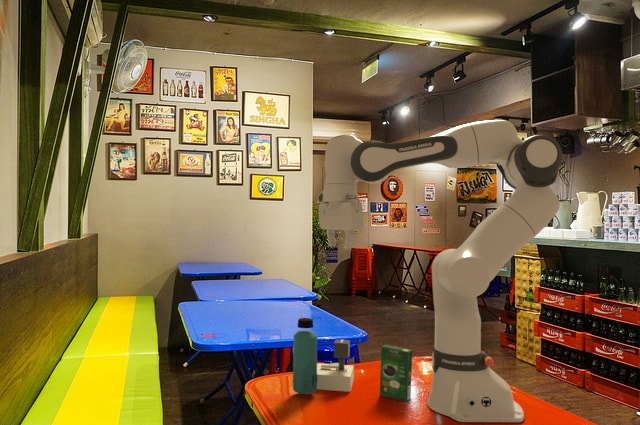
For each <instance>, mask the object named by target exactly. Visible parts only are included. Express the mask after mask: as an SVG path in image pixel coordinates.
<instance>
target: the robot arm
mask: <svg viewBox="0 0 640 425" xmlns="http://www.w3.org/2000/svg"><path fill="white" fill-rule="evenodd" d="M562 162H563V150H562V147H561V145H560V144H559V142H558V141H557V140H555V139H554V138H552V137H551V136H548V135H543V134H537V135H531V136H529V137H527V138H525V139H523V140H522V139H521V138H520V136H519V134H518V131H517V129H516V127H515V125H514V124H513V123H512V122H510V121H509V120H506V119H493V120H489V119H488V120H482V121H475V122H471V123H470V122H469V123H466V124H462V125H458V126H455V127H451V128H449V129H447V130H443V131H440V132H438V133H435V134H433V135H430V136H427V137H422V138H417V139H411V140H406V141H401V142H393V143H390V142H389V143H388V142H383V141H377V140H367V141H361V140H360V139H358V137H356V136H355V135H353V134H342V135H337V136H334V137H331V138H330V139H329V140H328V142H327V144H326V147H325V154H324V171H325V180H324V186H323V187H324V188H323V189H322V192H320V193H319V194H318V195H317V203H319V206H318V224H319V227H320V229H322V230H326V237H327V240H328V246H329V247H336V246H337V239H336V236H335V234H336V231H344V234H345V240H344V241H343V248H344V249H352V248H353V240H354V239H355V236H356V234H355V232H361V231H362V230H363V228H364V213H363V212H364V210H363V205H362V203H361V200H360V198H359V196H358V182H364V183H367V184H370V185H371V184H372V185H378V184H380V183H383V182H384V181H386V180H388V178H389V177H390V175H391V173H393V172H394V171H396V170H400V169H404V168H409V167H415V166H419V165H425V164H426V165H427V164H437V165H441V166H444V167H447V168H449V169H459V168H462V169H463V168H471V167H476V166H480V165H484V164H490V163H491V164H493V163H494V164H495V163H496V169H498V170H499V173H500V174H501V175H502V178H503V180H504V182H505V183H506V184H507V185H508V186H509V188H510V187H511V188H512V189H514V192H513V194H511V196H510V197H509V198H508V199H506V200H505V201H503V203H501V204H500V206H498V207H497V208H496V209H495V210H493V212H492V213H490V214H489V215H488V216H486V217H485V218H484V219H483V220H482V221H481V222H480V223H479V224H478V225H476V227H475V229H474V230H473V232H471V233H470V235H469V236H468V237H467V238H466V239H465V241H464V242H463V243H462V244H461V245H460V246H459V247H457V248H449V249H445V250H442V251H440V253H438V254H437V255H436V256H435V258H434V259H433V261H432V264H431V280H432V281H431V282H432V297H433V307H434V308H433V310H434V346H433V348H432V353H431V354H432V355H431V367H432V370H433V373H432V381H431V385H430V386H431V387H430V392H429V395H428V398H427V402H426V405H427V406H428V407H429V409H431V410H432V411H434V412H436V413H438V414H441V415H444V416H447V417H449V418H451V419H452V420H455V421H457V422H460V423H522V422H523V421H524V420H525V415H524V410H523V408H522V407H521V406H520V404H519V403H518V402H517V401H515V400H514V396H513V392H512V389H511V387H510V385H509V383H507V381H506V380H504V379H503V378H502V377H501V376H499V374H497V372H495V371H494V370H493V369H491V367H493V366H494V364H495V361H494V360H493V358H492V357H491V356H490V355H488V354H487V353H485V351H482V350H481V348H482V347H481V346H482V343H481V340H482V333H481V331H482V330H481V329H482V318H481V315H480V311H479V307H478V306H479V305H478V298H477V297H478V296H480V295H482V294H483V293H485V292H486V291H487V289H488V288H489V286H490V282H492V281H493V280H494V279H495V277H496V276H497V275H498V273H499V272H500V271H501V270H502V268H504V266H505V265H506V264H507V262H509V260H511V258H513V256H514V255H516V254H517V253H518V252H519V251H520V250H521V249H523V248H524V246H526V245H527V244H528V243H529V242H530V241H531V240H533V239H534V238H536V237H537V235H538V234H539V233H541V232H542V230H543V229H544V228H546V227H547V226H548V225H549V223H550V222H551V221H552V219H553V218H554V217H555V216H556V215H557V213H558V211H559V210H560V200H559V198H558V195H557V194H556V192H555V191H554V190H553V189H552V188H551V186H552V185H553V184H555V182H556V180H557V177H558V174H559V170H560V168H561V165H562Z"/></svg>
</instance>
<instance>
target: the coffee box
mask: <svg viewBox="0 0 640 425" xmlns="http://www.w3.org/2000/svg"><path fill="white" fill-rule="evenodd" d="M380 350H381V351H380V352H381V353H380V376H379V378H380V379H379V381H380V382H379V396H381V397H384V398H389V399H393V400H398V401H400V402H404V403H408V402H409V401H410V400H411V397H412V396H411V395H412V392H411V390H412V374H413V373H412V372H413V371H412V368H413V350H412V349H408V348H404V347H398V346H394V345H388V344H384V345H382V346H381V349H380Z"/></svg>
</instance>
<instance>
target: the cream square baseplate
mask: <svg viewBox="0 0 640 425" xmlns="http://www.w3.org/2000/svg"><path fill="white" fill-rule="evenodd" d="M321 365H335V366H339V362H333V363H320V362H319V363H318V362H317V366H318V367H317V389H316V390H321V391H322V390H323V391H333V392H334V391H336V392H349V393H350V392H351V391H352V386H353V383H354V379H355V378H354V377H355V376H354V375H355V371H354V369H355V365H352V364H351V365H348V364H347V365H346V364H344V370H339V369H336V368H321Z"/></svg>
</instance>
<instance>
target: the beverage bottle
mask: <svg viewBox="0 0 640 425" xmlns="http://www.w3.org/2000/svg"><path fill="white" fill-rule="evenodd" d="M297 328H299V329H301V330H298V331H297V332H296V333H295V334H294V335H293V357H292V361H293V362H292V389H293V391H294V392H295V393H297V394H303V395H306V394H307V395H308V394H309V395H310V394H313V393H315V392H317V390H318V389H317V367H318V366H317V363H318V335H317V334H316V333H315V332H314V331H313V330H309V329H312V328H314V320H313V318H309V317H301V318H298V320H297ZM302 329H303V330H302Z"/></svg>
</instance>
